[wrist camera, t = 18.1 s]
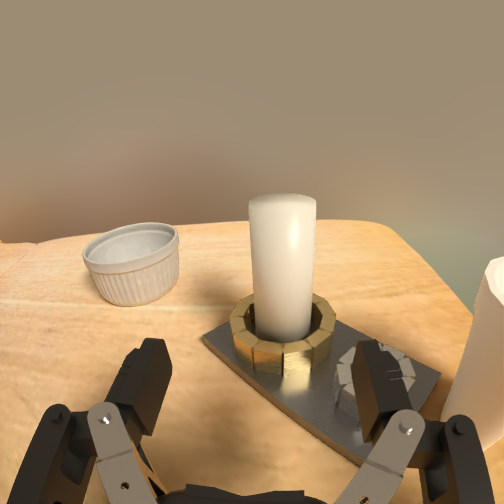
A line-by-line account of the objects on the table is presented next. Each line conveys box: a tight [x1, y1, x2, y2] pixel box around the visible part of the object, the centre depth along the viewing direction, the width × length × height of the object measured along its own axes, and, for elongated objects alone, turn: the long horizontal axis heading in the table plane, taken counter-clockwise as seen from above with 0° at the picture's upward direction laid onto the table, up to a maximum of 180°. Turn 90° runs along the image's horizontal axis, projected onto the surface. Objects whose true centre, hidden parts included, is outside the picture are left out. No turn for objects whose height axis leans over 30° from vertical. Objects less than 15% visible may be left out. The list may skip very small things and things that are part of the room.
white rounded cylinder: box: [248, 193, 316, 344], centre depth 25 cm, size 5×5×13 cm
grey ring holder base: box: [203, 293, 442, 467], centre depth 25 cm, size 20×11×4 cm, turn 40°
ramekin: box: [82, 223, 179, 307], centre depth 39 cm, size 13×13×7 cm
